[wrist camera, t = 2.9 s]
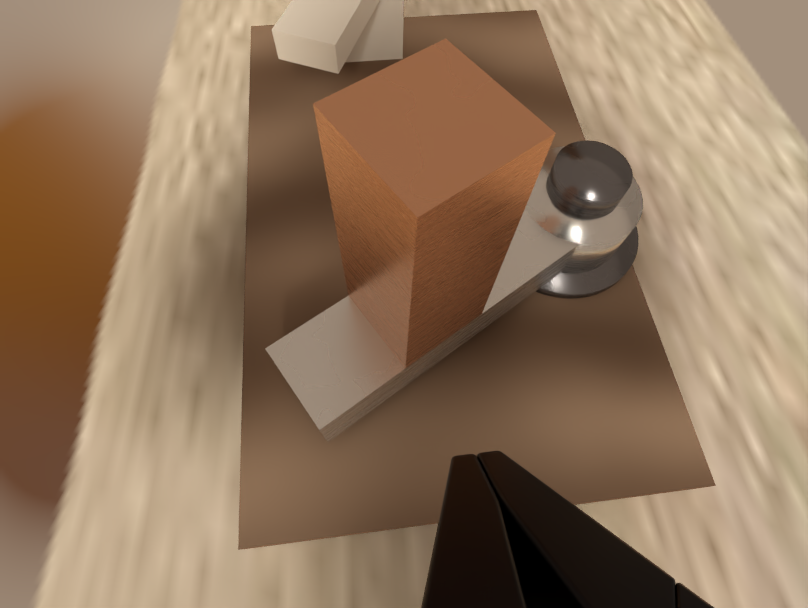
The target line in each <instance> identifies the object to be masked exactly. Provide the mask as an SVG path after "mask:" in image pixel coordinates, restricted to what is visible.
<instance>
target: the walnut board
mask: <svg viewBox="0 0 808 608" xmlns="http://www.w3.org/2000/svg"><path fill="white" fill-rule="evenodd" d="M273 27H274V25H266V26H251V55H250V96H249V137H248V178H247V219H246V260H245V301H244V342H243V382H242V423H241V464H240V505H239V546H238V550H239V549H248V548H256V547H263V546H271V545H278V544H286V543H293V542H301V541H308V540H316V539H323V538H331V537H338V536H345V535H353V534H360V533H368V532H375V531H383V530H390V529H398V528H405V527H413V526H420V525H427V524H435V523H439V518H440V513H441V508H442V503H443V498H444V493H445V488H446V483H447V478H448V473H449V468H450V463H451V459H452V457H453V456H457V455H465V454H474V455H476V456H477V454H478V453H481V452H489V451H501V452H503V453H504V454H505V455H507V456H508V457H510V458H511V459H512V460H514V461H515V462H516V463H518V464H519V465H520V466H522V467H523V468H525V469H526V470H527V471H529V472H530V473H531V474H533V475H534V476H535V477H537V478H538V479H539V480H541V481H542V482H544V483H545V484H546V485H548V486H549V487H550V488H552V489H553V490H554V491H556V492H557V493H558V494H560V495H561V496H563V497H564V498H565V499H567V500H568V501H569V502H571V503H572V504H573V505H576V504H584V503H591V502H599V501H606V500H614V499H621V498H629V497H636V496H644V495H651V494H658V493H666V492H673V491H681V490H688V489H696V488H702V487H709V486H716V485H715V483H714V480H713V477H712V475H711V472H710V470H709V467H708V464H707V462H706V459H705V456H704V454H703V451H702V448H701V446H700V443H699V440H698V438H697V435H696V432H695V430H694V427H693V424H692V422H691V419H690V416H689V414H688V411H687V409H686V406H685V403H684V401H683V398H682V395H681V393H680V390H679V387H678V385H677V382H676V379H675V377H674V374H673V371H672V369H671V366H670V363H669V361H668V358H667V356H666V353H665V350H664V348H663V345H662V342H661V340H660V337H659V334H658V332H657V329H656V326H655V324H654V321H653V318H652V316H651V313H650V310H649V308H648V305H647V302H646V300H645V297H644V295H643V292H642V289H641V287H640V284H639V281H638V279H637V276H636V273H635V271H634V268H633V265H631V267H630V269H629V270H628V271H627V272H626V274H625V275H624V276H623V277H622V278H621V279H620V280H619V281H618V282H617V283H616V284H615V285H613V286H612V287H610V288H609V289H607V290H606V291H603V292H601V293H599V294H596V295H593V296H590V297H584V298H573V299H567V298H557V297H552V296H547V295H544V294H541V293H538V292H534V293H533V294H531V295H530V296H528V297H527V298H526V299H524V300H523V301H522V302H520V303H519V304H517V305H516V306H515V307H513V308H512V309H511V310H509V311H508V312H506V313H505V314H504V315H502V316H501V317H500V318H498V319H497V320H495V321H494V322H493V323H491V324H490V325H489V326H487V327H486V328H484V329H483V330H482V331H480V332H479V333H478V334H476V335H475V336H473V337H472V338H471V339H469V340H468V341H467V342H465V343H464V344H463V345H461V346H460V347H458V348H457V349H456V350H454V351H453V352H452V353H450V354H449V355H447V356H446V357H445V358H443V359H442V360H441V361H439V362H438V363H436V364H435V365H434V366H432V367H431V368H430V369H428V370H427V371H425V372H424V373H423V374H421V375H420V376H419V377H417V378H416V379H414V380H413V381H412V382H410V383H409V384H408V385H406V386H405V387H404V388H402V389H401V390H399V391H398V392H397V393H395V394H394V395H393V396H391V397H390V398H388V399H387V400H386V401H384V402H383V403H382V404H380V405H379V406H377V407H376V408H375V409H373V410H372V411H371V412H369V413H368V414H366V415H365V416H364V417H362V418H361V419H360V420H358V421H357V422H355V423H354V424H353V425H351V426H350V427H349V428H347V429H346V430H344V431H343V432H342V433H340V434H339V435H338V436H336V437H335V438H334V439H332V440H331V441H329V442H327V440H326V439H325V437H324V436H323V435H322V433H321V432H320V430H319V429H318V427H317V426H316V424H315V423H314V421H313V420H312V418H311V417H310V415H309V414H308V412H307V411H306V409H305V408H304V406H303V405H302V403H301V402H300V400H299V399H298V397H297V396H296V394H295V393H294V391H293V390H292V388H291V387H290V385H289V384H288V382H287V381H286V379H285V378H284V376H283V375H282V373H281V372H280V370H279V369H278V367H277V366H276V364H275V363H274V361H273V360H272V358H271V357H270V355H269V354H268V352H267V351H266V349H265V348H267V347H268V346H270V345H271V344H273V343H275V342H276V341H278V340H279V339H281V338H282V337H284V336H286V335H287V334H289V333H290V332H292V331H293V330H295V329H297V328H298V327H300V326H301V325H303V324H304V323H306V322H308V321H309V320H311V319H312V318H314V317H315V316H317V315H319V314H320V313H322V312H323V311H325V310H326V309H328V308H330V307H331V306H333V305H334V304H336V303H337V302H339V301H341V300H342V299H344V298H345V297H347V296H348V291H347V285H346V280H345V274H344V269H343V264H342V258H341V253H340V247H339V242H338V237H337V231H336V226H335V220H334V215H333V210H332V204H331V199H330V193H329V188H328V183H327V177H326V172H325V166H324V161H323V155H322V150H321V145H320V139H319V134H318V128H317V123H316V118H315V112H314V107H313V103H315V102H317V101H319V100H321V99H323V98H325V97H327V96H329V95H331V94H333V93H335V92H337V91H339V90H342V89H344V88H346V87H348V86H350V85H352V84H354V83H356V82H358V81H360V80H362V79H364V78H366V77H368V76H370V75H372V74H374V73H376V72H378V71H380V70H382V69H384V68H386V67H388V66H390V65H392V64H394V63H396V62H399V61H401V60H403V59H405V58H407V57H409V56H411V55H413V54H415V53H417V52H419V51H421V50H423V49H425V48H427V47H429V46H431V45H433V44H435V43H437V42H439V41H441V40H443V39H445V38H446V39H447V40H448V41H449V42H451V43H452V44H453V45H454V46H455V47H456V48H458V49H459V50H460V51H461V52H462V53H463V54H464V55H466V56H467V57H468V58H469V59H470V60H471V61H473V62H474V63H475V64H476V65H477V66H478V67H480V68H481V69H482V70H483V71H484V72H485V73H487V74H488V75H489V76H490V77H491V78H492V79H494V80H495V81H496V82H497V83H498V84H499V85H501V86H502V87H503V88H504V89H505V90H506V91H508V92H509V93H510V94H511V95H512V96H513V97H515V98H516V99H517V100H518V101H519V102H520V103H522V104H523V105H524V106H525V107H526V108H527V109H529V110H530V111H531V112H532V113H533V114H534V115H536V116H537V117H538V118H539V119H540V120H541V121H543V122H544V123H545V124H546V125H547V126H548V127H550V128H551V129H552V130H553V131H554V132H555V133H556V134H555V136H554V139H553V141H552V144H551V146H550V148H549V149H552V148H556V147H563V146H567V145H568V144H571V143H573V142H577V141H585V138H584V135H583V133H582V130H581V128H580V125H579V122H578V120H577V117H576V114H575V112H574V109H573V106H572V104H571V101H570V98H569V96H568V93H567V90H566V88H565V85H564V82H563V80H562V77H561V74H560V72H559V69H558V67H557V64H556V61H555V59H554V56H553V53H552V51H551V48H550V45H549V43H548V40H547V37H546V35H545V32H544V29H543V27H542V24H541V21H540V19H539V16H538V14H537V11H536V10H530V11H513V12H495V13H477V14H460V15H442V16H424V17H407V18H404V20H403V59H391V60H375V61H360V62H345V63H344V65H343V67H342V69H341V70H340V72H339V74H337V73H333V72H329V71H325V70H321V69H317V68H313V67H309V66H305V65H301V64H297V63H293V62H289V61H285V60H281V59H278V55H277V50H276V46H275V42H274V38H273V34H272V28H273Z"/></svg>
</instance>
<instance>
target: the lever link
mask: <svg viewBox="0 0 808 608" xmlns="http://www.w3.org/2000/svg"><path fill="white" fill-rule="evenodd" d="M313 107H314V112H315V118H316V123H317V128H318V134H319V139H320V145H321V150H322V155H323V161H324V166H325V172H326V177H327V183H328V188H329V193H330V199H331V204H332V210H333V215H334V220H335V226H336V231H337V237H338V242H339V247H340V253H341V258H342V264H343V269H344V274H345V280H346V285H347V291H348V296H347V297H345V298H344V299H342V300H341V301H339V302H337V303H336V304H334V305H333V306H331V307H330V308H328V309H326V310H325V311H323V312H322V313H320V314H319V315H317V316H315V317H314V318H312V319H311V320H309V321H308V322H306V323H304V324H303V325H301V326H300V327H298V328H297V329H295V330H293V331H292V332H290V333H289V334H287V335H286V336H284V337H282V338H281V339H279V340H278V341H276V342H275V343H273V344H271V345H270V346H268V347H267V348H265V349H266V351H267V352H268V354H269V355H270V357H271V358H272V360H273V361H274V363H275V364H276V366H277V367H278V369H279V370H280V372H281V373H282V375H283V376H284V378H285V379H286V381H287V382H288V384H289V385H290V387H291V388H292V390H293V391H294V393H295V394H296V396H297V397H298V399H299V400H300V402H301V403H302V405H303V406H304V408H305V409H306V411H307V412H308V414H309V415H310V417H311V418H312V420H313V421H314V423H315V424H316V426H317V427H318V429H319V430H320V432H321V433H322V435H323V436H324V437H325V439H326V440H327V442H329V441H331V440H332V439H334V438H335V437H336V436H338V435H339V434H340V433H342V432H343V431H344V430H346V429H347V428H349V427H350V426H351V425H353V424H354V423H355V422H357V421H358V420H360V419H361V418H362V417H364V416H365V415H366V414H368V413H369V412H371V411H372V410H373V409H375V408H376V407H377V406H379V405H380V404H382V403H383V402H384V401H386V400H387V399H388V398H390V397H391V396H393V395H394V394H395V393H397V392H398V391H399V390H401V389H402V388H404V387H405V386H406V385H408V384H409V383H410V382H412V381H413V380H414V379H416V378H417V377H419V376H420V375H421V374H423V373H424V372H425V371H427V370H428V369H430V368H431V367H432V366H434V365H435V364H436V363H438V362H439V361H441V360H442V359H443V358H445V357H446V356H447V355H449V354H450V353H452V352H453V351H454V350H456V349H457V348H458V347H460V346H461V345H463V344H464V343H465V342H467V341H468V340H469V339H471V338H472V337H473V336H475V335H476V334H478V333H479V332H480V331H482V330H483V329H484V328H486V327H487V326H489V325H490V324H491V323H493V322H494V321H495V320H497V319H498V318H500V317H501V316H502V315H504V314H505V313H506V312H508V311H509V310H511V309H512V308H513V307H515V306H516V305H517V304H519V303H520V302H522V301H523V300H524V299H526V298H527V297H528V296H530V295H531V294H533V293H534V292H535V291H537V290H538V289H539V288H541V287H542V286H543V285H545V284H546V283H548V282H549V281H550V280H552V279H553V278H554V277H556V276H557V275H559V274H560V273H568V274H576V273H584V272H588V271H591V270H594V269H596V268H598V267H600V266H601V265H603V264H604V263H606V262H607V261H608V260H609V259H610V258H611V256H612V255H613V254H614V253H615V251H616V250H617V249H618V248H619V246H620V245H621V244H622V243H623V241H624V240H625V239H626V237H627V236H628V235H629V234H630V232H631V231H632V230H633V229H634V227H635V226H636V225H637V223H638V221H639V220H640V217H641V214H642V209H643V199H642V194H641V191H640V188H639V186H638V184H637V182H636V180H635V179H634V177H633V179H632V183H631V186H630V188H629V189H628V191H627V192H626V194H625V195H624V197H623V198H622V199H621V201H620V202H619V204H618V205H617V207H616V208H615V209H614V210H613V211H612V212H611V213H610V214H608V215H607V216H604V217H602V218H598V219H581V218H577V217H573V216H571V215H568V214H567V213H565V212H563V211H562V210H560V209H559V208H558V207H557V206H556V205H555V204H554V203H553V202H552V201H551V199H550V197H549V196H548V193H547V189H546V180H547V177H548V175H549V172H550V170H551V168H552V165H553V163H554V161H555V159H556V156H557V154H558V153H559V151H560V150H561V149H562V148H564V147H565V146H563V147H556V148H552V149H549V148H550V146H551V144H552V141H553V139H554V136H555V134H556V133H555V132H554V131H553V130H552V129H551V128H550V127H548V126H547V125H546V124H545V123H544V122H543V121H541V120H540V119H539V118H538V117H537V116H536V115H534V114H533V113H532V112H531V111H530V110H529V109H527V108H526V107H525V106H524V105H523V104H522V103H520V102H519V101H518V100H517V99H516V98H515V97H513V96H512V95H511V94H510V93H509V92H508V91H506V90H505V89H504V88H503V87H502V86H501V85H499V84H498V83H497V82H496V81H495V80H494V79H492V78H491V77H490V76H489V75H488V74H487V73H485V72H484V71H483V70H482V69H481V68H480V67H478V66H477V65H476V64H475V63H474V62H473V61H471V60H470V59H469V58H468V57H467V56H466V55H464V54H463V53H462V52H461V51H460V50H459V49H458V48H456V47H455V46H454V45H453V44H452V43H451V42H449V41H448V40H447V39H446V38H445V39H443V40H441V41H439V42H437V43H435V44H433V45H431V46H429V47H427V48H425V49H423V50H421V51H419V52H417V53H415V54H413V55H411V56H409V57H407V58H405V59H403V60H401V61H399V62H396V63H394V64H392V65H390V66H388V67H386V68H384V69H382V70H380V71H378V72H376V73H374V74H372V75H370V76H368V77H366V78H364V79H362V80H360V81H358V82H356V83H354V84H352V85H350V86H348V87H346V88H344V89H342V90H339V91H337V92H335V93H333V94H331V95H329V96H327V97H325V98H323V99H321V100H319V101H317V102H315V103H313Z"/></svg>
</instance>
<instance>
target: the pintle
mask: <svg viewBox="0 0 808 608" xmlns="http://www.w3.org/2000/svg"><path fill="white" fill-rule="evenodd" d="M632 179H633V174H632V169H631V167H630V165H629V163H628V161H627V160H626V158H625V157H624V156H623V155H622V154H621V153H620V152H618V151H617V150H616V149H614V148H612V147H610V146H608V145H606V144H603V143H600V142H596V141H577V142H573V143H571V144H568V145H567V146H565V147H564V148H562V149H561V150H560V151H559V153H558V154H557V156H556V159H555V161H554V163H553V165H552V168H551V170H550V172H549V175H548V177H547V180H546V189H547V193H548V196H549V197H550V199H551V201H552V202H553V203H554V204H555V205H556V206H557V207H558V208H559V209H560V210H562V211H563V212H565V213H567V214H568V215H571V216H573V217H577V218H581V219H598V218H602V217H604V216H607V215H608V214H610V213H611V212H612V211H613V210H614V209H615V208H616V207H617V205H618V204H619V202H620V201H621V199H622V198H623V197H624V195H625V194H626V192H627V191H628V189H629V188H630V186H631V183H632ZM637 249H638V233H637V227H636V226H635V227H634V229H633V230H632V231H631V232H630V234H629V235H628V236H627V237H626V239H625V240H624V241H623V243H622V244H621V245H620V246H619V248H618V249H617V250H616V251H615V253H614V254H613V255H612V256H611V258H610V259H609V260H608V261H607V262H606V263H604V264H603V265H601V266H600V267H598V268H596V269H594V270H591V271H588V272H584V273H576V274H568V273H560V274H559V275H557V276H556V277H554V278H553V279H552V280H550V281H549V282H548V283H546V284H545V285H543V286H542V287H541V288H539V289H538V290H537V291H535V292H538V293H541V294H544V295H547V296H552V297H557V298H567V299H573V298H584V297H590V296H593V295H596V294H599V293H601V292H603V291H606V290H607V289H609V288H610V287H612V286H613V285H615V284H616V283H617V282H618V281H619V280H620V279H621V278H622V277H623V276H624V275H625V274H626V272H627V271H628V270H629V269H630V267H631V265H632V264H633V262H634V260H635V257H636V254H637Z"/></svg>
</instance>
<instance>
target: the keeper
mask: <svg viewBox="0 0 808 608" xmlns="http://www.w3.org/2000/svg"><path fill="white" fill-rule="evenodd" d="M403 20H404V0H292V1H291V2H290V4H289V5H288V7H287V8H286V10H285V11H284V12H283V14H282V15H281V17H280V18H279V20H278V21H277V23H276V24H275V25H274V27H273V28H272V34H273V38H274V42H275V46H276V50H277V55H278V59H281V60H285V61H289V62H293V63H297V64H301V65H305V66H309V67H313V68H317V69H321V70H325V71H329V72H333V73H337V74H339V72H340V70H341V69H342V67H343V65H344V63H345V62H360V61H375V60H391V59H403Z"/></svg>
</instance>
